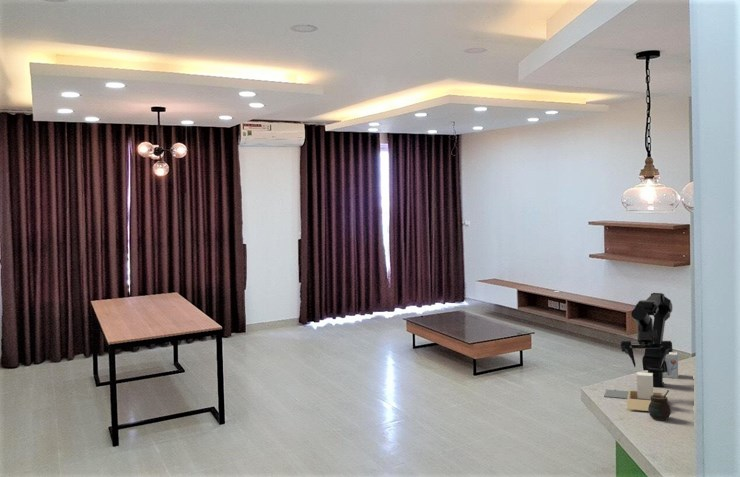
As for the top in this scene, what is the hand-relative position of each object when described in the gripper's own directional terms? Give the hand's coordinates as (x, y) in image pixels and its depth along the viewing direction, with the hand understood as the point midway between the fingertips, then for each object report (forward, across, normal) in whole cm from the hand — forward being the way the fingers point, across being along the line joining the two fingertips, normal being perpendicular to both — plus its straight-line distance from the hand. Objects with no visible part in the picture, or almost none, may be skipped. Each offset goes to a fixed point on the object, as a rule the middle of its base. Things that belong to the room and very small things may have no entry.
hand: (647, 366), depth 240 cm
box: (+15, -2, +1) cm, 15 cm away
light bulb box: (-11, +6, +42) cm, 44 cm away
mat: (+8, -12, +10) cm, 18 cm away
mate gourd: (+23, +3, -11) cm, 26 cm away
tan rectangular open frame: (+15, -2, +1) cm, 15 cm away
